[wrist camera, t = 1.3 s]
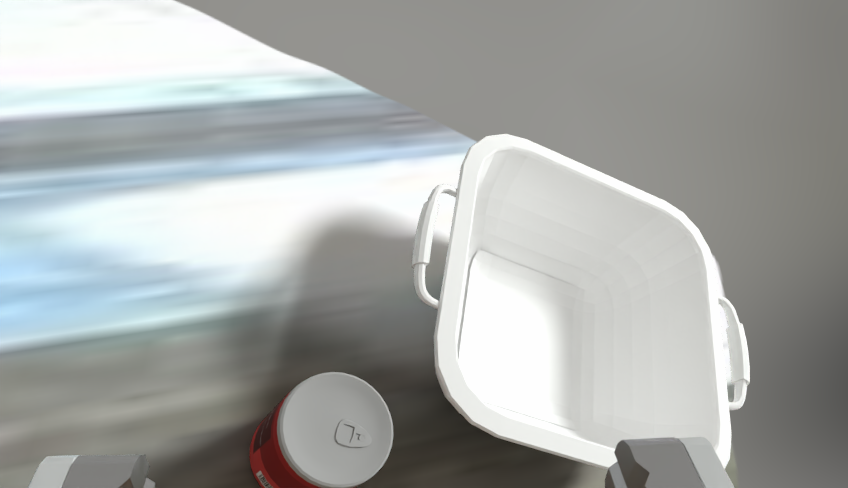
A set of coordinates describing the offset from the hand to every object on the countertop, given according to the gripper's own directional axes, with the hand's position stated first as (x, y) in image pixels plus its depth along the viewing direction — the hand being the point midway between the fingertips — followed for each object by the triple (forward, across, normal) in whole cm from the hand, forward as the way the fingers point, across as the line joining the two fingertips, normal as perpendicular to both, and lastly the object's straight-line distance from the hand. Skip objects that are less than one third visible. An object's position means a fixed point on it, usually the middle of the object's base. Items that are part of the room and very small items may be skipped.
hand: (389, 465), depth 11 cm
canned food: (+26, +6, +35) cm, 44 cm away
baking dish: (+40, -15, +36) cm, 56 cm away
